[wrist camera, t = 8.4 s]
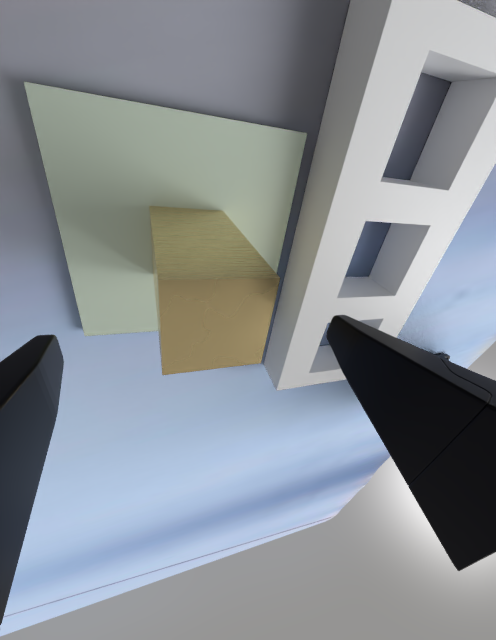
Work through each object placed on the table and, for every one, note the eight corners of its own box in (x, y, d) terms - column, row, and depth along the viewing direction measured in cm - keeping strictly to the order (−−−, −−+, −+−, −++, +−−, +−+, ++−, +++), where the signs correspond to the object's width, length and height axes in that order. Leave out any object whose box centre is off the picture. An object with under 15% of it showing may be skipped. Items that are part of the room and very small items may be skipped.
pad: (262, 318, 21) (265, 323, 21) (86, 330, 17) (84, 336, 17) (302, 132, 15) (307, 133, 14) (28, 82, 11) (23, 81, 10)
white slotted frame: (356, 353, 28) (375, 374, 25) (263, 364, 24) (276, 390, 22) (498, 56, 15) (561, 47, 13) (350, -1, 12) (400, -26, 10)
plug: (217, 274, 17) (260, 363, 11) (153, 274, 16) (162, 375, 10) (223, 210, 15) (280, 277, 9) (149, 205, 14) (157, 280, 8)
